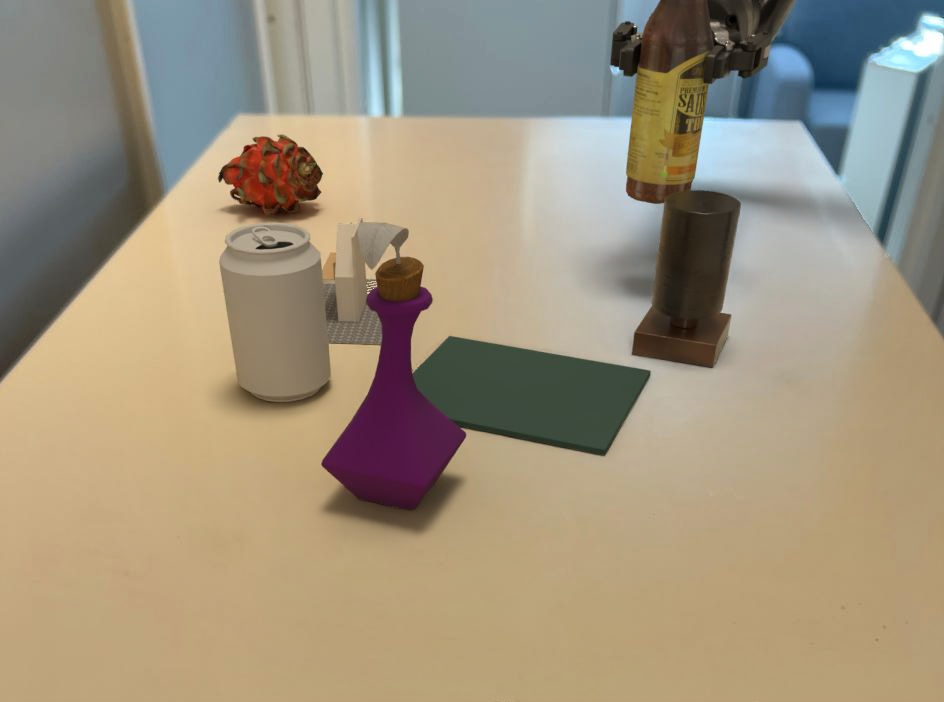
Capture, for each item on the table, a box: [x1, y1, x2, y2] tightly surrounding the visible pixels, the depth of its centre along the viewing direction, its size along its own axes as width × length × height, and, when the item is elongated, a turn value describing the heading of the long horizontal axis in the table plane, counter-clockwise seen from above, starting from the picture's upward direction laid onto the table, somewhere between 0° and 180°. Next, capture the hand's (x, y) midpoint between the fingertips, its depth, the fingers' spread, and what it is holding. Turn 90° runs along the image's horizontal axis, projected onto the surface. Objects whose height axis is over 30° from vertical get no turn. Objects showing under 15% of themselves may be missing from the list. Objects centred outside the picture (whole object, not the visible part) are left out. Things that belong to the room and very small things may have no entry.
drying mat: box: [412, 335, 652, 456], centre depth 79 cm, size 18×14×1 cm
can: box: [218, 221, 332, 403], centre depth 76 cm, size 8×8×12 cm
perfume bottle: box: [320, 221, 467, 511], centre depth 62 cm, size 8×8×18 cm
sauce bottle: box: [625, 0, 714, 205], centre depth 85 cm, size 6×6×20 cm
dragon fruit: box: [217, 134, 324, 217], centre depth 111 cm, size 8×8×12 cm
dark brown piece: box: [631, 189, 742, 368], centre depth 83 cm, size 7×7×12 cm
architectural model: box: [322, 215, 382, 345], centre depth 90 cm, size 3×7×7 cm, turn 177°
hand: (668, 66), depth 82 cm, fingers closed on sauce bottle, 6 cm apart
